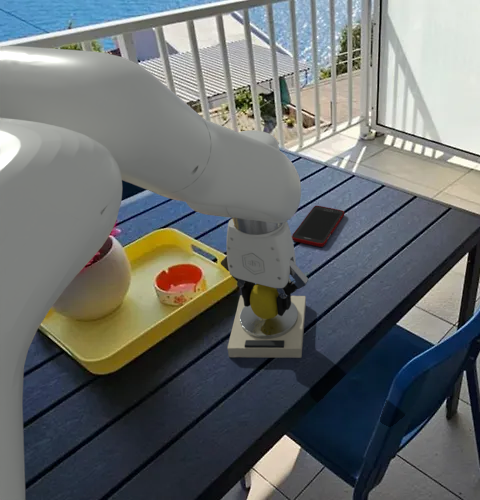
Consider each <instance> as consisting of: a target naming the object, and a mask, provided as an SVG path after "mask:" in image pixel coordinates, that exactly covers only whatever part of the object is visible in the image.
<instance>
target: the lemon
mask: <svg viewBox="0 0 480 500" xmlns="http://www.w3.org/2000/svg"><path fill="white" fill-rule="evenodd" d="M278 295H279V293H278V291H277V289H276V288H273V287H269V286H265V285H260V284H257V283H255V285H254V287H253V288H252V290H251V294H250V305H251V308H252V310H253V312H254V314H256V315H257V316H258V317H260V318H262V319H271V318H274V317H276V316H277V315H278V310H277V297H278Z"/></svg>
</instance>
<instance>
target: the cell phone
mask: <svg viewBox="0 0 480 500" xmlns="http://www.w3.org/2000/svg"><path fill="white" fill-rule="evenodd" d="M344 217H345V211H344V210H342V209H338V208H332V207H327V206H322V205H314V206H313V207H312V209H311V210H310V211H309V212H308V214H307V215H306V216H305V217H304V219H303V220H302V221H301V223H300V224H299V225H298V227H297V228H296V230H294V232H293V233H292V234H291V235H292V240H293V242H297V243H300V244H301V243H302V244H305V245H309V246H310V245H311V246H314V247H320V248H322V247H323V248H324V246H325V245H326V244H327V242H328V240H329V239H330V238H331V235H333V233H334V232H335V230H336V229H337V227H338V226H339V224H340V223H341V221H342V219H343V218H344Z"/></svg>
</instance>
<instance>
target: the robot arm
mask: <svg viewBox="0 0 480 500" xmlns="http://www.w3.org/2000/svg"><path fill="white" fill-rule="evenodd" d="M123 182H125V183H129V184H132V185H133V186H136V187H139V188H141V189H144V190H146V191H149V192H151V193H153V194H156V195H159V196H161V197H164V198H167V199H170V200H174V201H179V202H183V203H186V205H187V206H188V207H189V208H190V209H191V210H193V211H194V212H197V213H199V214H202V215H207V216H212V217H213V216H214V217H222V218H230V220H228V223H227V230H226V256H225V257H224V258H223V259H222V260H221V261H220V265H221V267H223V268H224V269H225V271H227V272H229V275H230V276H231V277H232V278H233V279H234V280H235V281H236V285H237V287H239V288H240V291H241V295H242V298H243V300H244V306H246V307H248V306H250V294H251V290H252V288H253V287H254V285H255V284H260V285H265V286H269V287H273V288H276V289H277V291H278V293H279V295H278V297H277V310H278V314H279V316H283V314H284V313H285V311H286V310H288V309H289V308H290V306H291V296H292V294H293V293H295V292H296V291H297V290H300V289H301V288H303V287H305V286H306V285H307V284H308V282H309V278H308V277H307V275H306V274H305V273H304V271H302V270H301V268H299V266H298V265H297V263H296V261H297V259H296V251H295V245H294V241H293V240H292V235H293V234H292V232H291V228H290V225H289V222H288V221H289V220H291V219H292V218H293V217H294V215H295V214H296V213H297V211H298V209H299V207H300V203H301V198H302V183H301V178H300V175H299V173H298V170H297V168H296V166H295V165H294V164H293V162H292V161H291V160H290V158H288V156H287V155H286V154H285V153H284V152H282V151H281V150H280V145H279V142H278V139H276V137H275V136H274V135H272V134H271V133H270V132H267V131H262V130H256V129H255V130H242V131H235V130H234V129H231V128H229V127H226V126H224V125H221V124H218V123H215V122H213V121H210V120H207V119H205V118H204V117H202V115H200V113H198V112H197V111H196V110H194V109H193V108H192V107H191V105H188V103H186V102H185V101H184V100H183V99H182V98H180V96H178V95H177V94H176V93H175V92H174V91H173V90H171V89H170V88H169V87H168V86H166V84H164V83H163V82H162V81H161V80H159V79H158V78H157V77H156V76H155V75H154V74H152V73H151V72H150V71H149V70H147V69H146V68H145V67H143V66H141V65H140V64H138V63H137V62H135V61H134V60H133V61H132V60H130V59H128V58H125V57H123V56H119V55H115V54H111V53H107V52H100V51H91V50H78V49H77V50H76V49H65V48H64V49H63V48H50V47H36V46H25V45H24V46H23V45H4V46H0V500H26V469H25V466H26V465H25V441H24V440H25V439H24V438H25V437H24V409H23V408H24V407H23V406H24V405H23V403H24V401H23V400H24V375H25V374H24V373H25V364H26V360H27V356H28V352H29V349H30V347H31V344H32V342H33V340H34V339H35V335H36V334H37V331H38V329H39V328H40V326H41V324H42V323H43V321H44V320H45V318H46V317H47V315H48V314H49V311H50V310H51V309H52V308H53V306H54V305H55V303H56V302H57V301H58V299H59V298H60V296H61V295H62V294H63V293H64V291H65V290H66V288H68V287H69V285H70V284H71V283H72V282H73V280H74V279H75V278H76V277H77V276H78V274H79V273H80V272H81V271H82V270H83V269H84V268H85V267H86V265H87V264H88V263H89V262H90V261H91V260H93V258H94V257H95V255H96V254H97V253H98V252H99V251H100V249H101V248H103V246H104V244H105V243H106V241H107V240H108V239H109V237H110V235H111V233H112V232H113V229H114V228H115V225H116V223H117V220H118V216H119V212H120V209H121V205H122V199H123ZM290 276H291V277H292V278H293V280H291V277H290Z"/></svg>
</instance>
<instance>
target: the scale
mask: <svg viewBox="0 0 480 500" xmlns="http://www.w3.org/2000/svg"><path fill="white" fill-rule="evenodd" d="M306 299H307V298H306V295H291V306H290V308H289V309H288V310H286V311H285V313H284V314H283V316H279V314H278V315H277V316H276V317H274V318H271V319H262V318H260V317H258V316H257V315H256V314H254V312H253V310H252V308H251V305H250V306H248V307H246V306H244V300H243V298H242V294H241V295H239V299H238V303H237V307H236V312H235V316H234V320H233V324H232V327H231V332H230V336H229V340H228V344H227V354H228V358H274V359H275V358H277V359H278V358H280V359H281V358H282V359H283V358H285V359H286V358H289V359H291V358H293V359H294V358H296V359H301V358H302V357H303V355H302V354H303V343H304V331H305V319H306V310H307V309H306V308H307V300H306Z"/></svg>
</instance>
